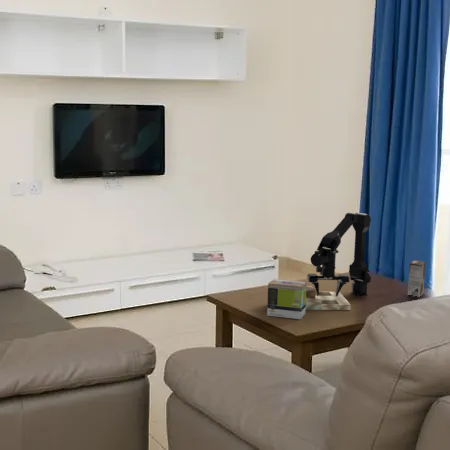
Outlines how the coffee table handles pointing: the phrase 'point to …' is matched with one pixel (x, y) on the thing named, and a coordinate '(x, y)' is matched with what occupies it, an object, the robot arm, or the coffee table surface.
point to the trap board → (327, 302)
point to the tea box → (286, 298)
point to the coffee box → (416, 278)
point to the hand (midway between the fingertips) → (327, 296)
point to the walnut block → (310, 293)
